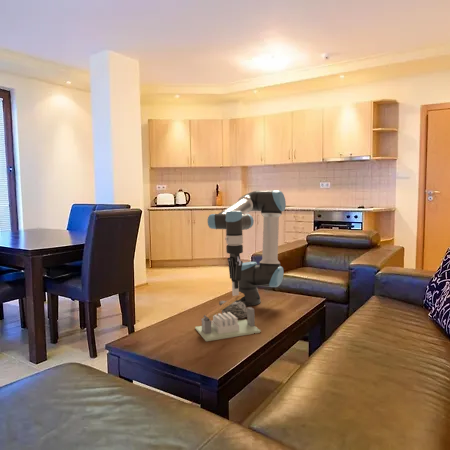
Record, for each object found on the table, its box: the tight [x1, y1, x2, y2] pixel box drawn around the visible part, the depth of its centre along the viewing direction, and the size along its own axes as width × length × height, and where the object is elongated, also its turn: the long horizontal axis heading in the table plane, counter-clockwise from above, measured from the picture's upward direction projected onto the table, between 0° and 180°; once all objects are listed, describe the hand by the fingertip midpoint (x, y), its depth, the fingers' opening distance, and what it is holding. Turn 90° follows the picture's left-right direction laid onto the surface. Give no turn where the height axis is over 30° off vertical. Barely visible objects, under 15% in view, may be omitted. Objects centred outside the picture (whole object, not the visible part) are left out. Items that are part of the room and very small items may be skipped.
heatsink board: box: [194, 306, 262, 342], centre depth 179 cm, size 17×26×9 cm, turn 110°
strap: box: [203, 292, 245, 321], centre depth 178 cm, size 21×5×1 cm, turn 110°
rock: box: [218, 300, 247, 320], centre depth 198 cm, size 16×8×10 cm, turn 60°
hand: (235, 294), depth 179 cm, fingers closed
